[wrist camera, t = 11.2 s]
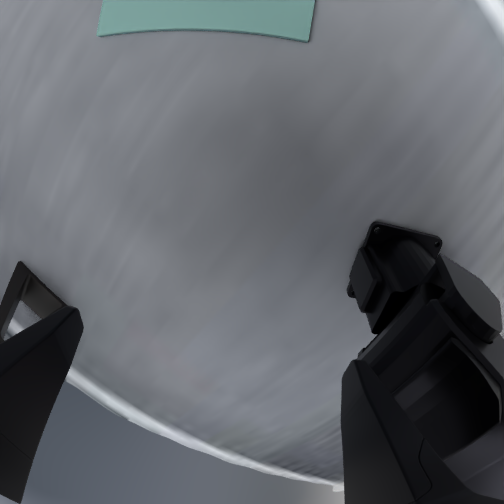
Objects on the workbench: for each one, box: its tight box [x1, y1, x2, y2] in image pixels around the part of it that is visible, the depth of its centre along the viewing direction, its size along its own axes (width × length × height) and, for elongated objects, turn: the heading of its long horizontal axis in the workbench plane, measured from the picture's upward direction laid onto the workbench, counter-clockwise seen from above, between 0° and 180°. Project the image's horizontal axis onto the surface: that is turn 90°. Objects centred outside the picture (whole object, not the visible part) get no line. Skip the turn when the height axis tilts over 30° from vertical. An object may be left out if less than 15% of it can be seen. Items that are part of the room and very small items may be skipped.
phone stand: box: [0, 261, 68, 344], centre depth 22 cm, size 9×6×12 cm, turn 45°
